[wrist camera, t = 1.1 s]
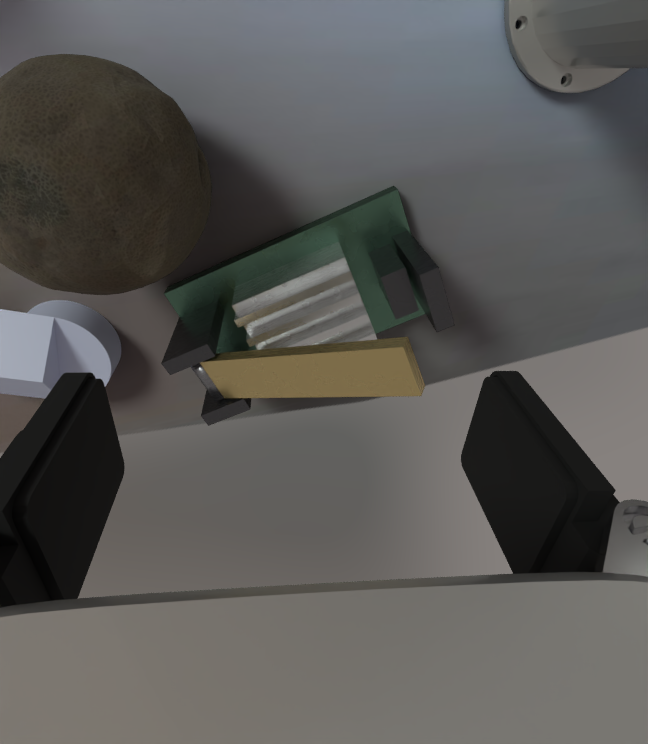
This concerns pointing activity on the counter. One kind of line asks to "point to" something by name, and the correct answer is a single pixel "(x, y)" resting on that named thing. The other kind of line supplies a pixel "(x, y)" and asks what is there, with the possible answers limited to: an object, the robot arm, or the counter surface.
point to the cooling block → (308, 291)
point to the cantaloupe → (96, 176)
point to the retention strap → (315, 371)
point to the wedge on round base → (54, 347)
